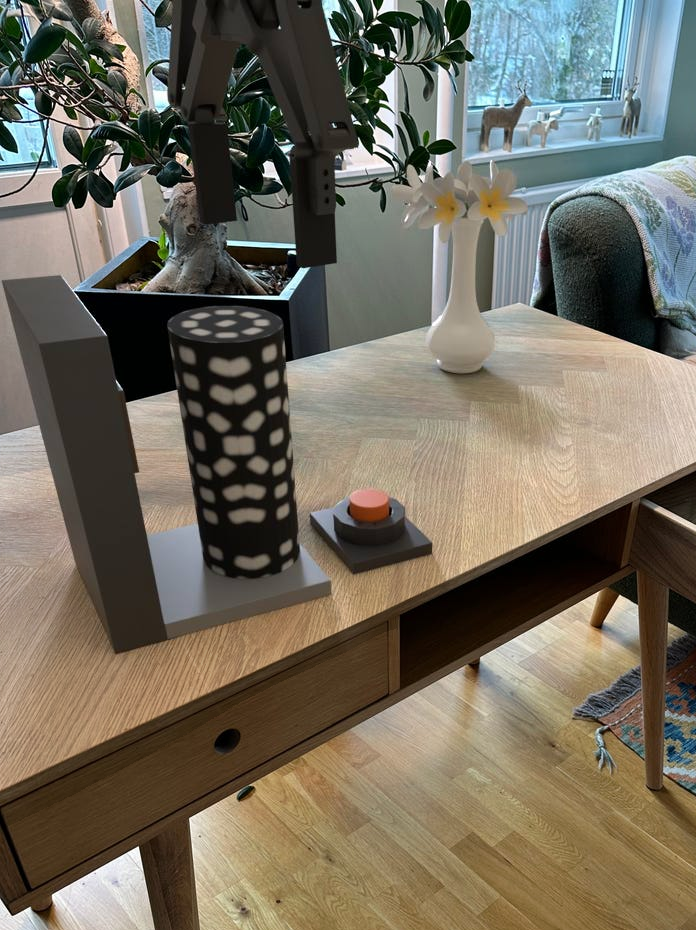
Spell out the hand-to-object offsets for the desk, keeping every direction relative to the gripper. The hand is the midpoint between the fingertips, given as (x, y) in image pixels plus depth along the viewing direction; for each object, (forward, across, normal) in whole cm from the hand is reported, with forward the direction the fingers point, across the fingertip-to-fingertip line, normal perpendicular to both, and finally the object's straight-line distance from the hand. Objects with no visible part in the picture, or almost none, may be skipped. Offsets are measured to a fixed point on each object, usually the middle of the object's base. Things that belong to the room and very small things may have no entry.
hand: (264, 242), depth 63 cm
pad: (+27, -1, -8) cm, 28 cm away
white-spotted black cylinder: (+26, +1, +4) cm, 26 cm away
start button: (+24, -1, -8) cm, 26 cm away
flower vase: (+27, +29, -44) cm, 59 cm away
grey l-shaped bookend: (+27, +2, +8) cm, 28 cm away
